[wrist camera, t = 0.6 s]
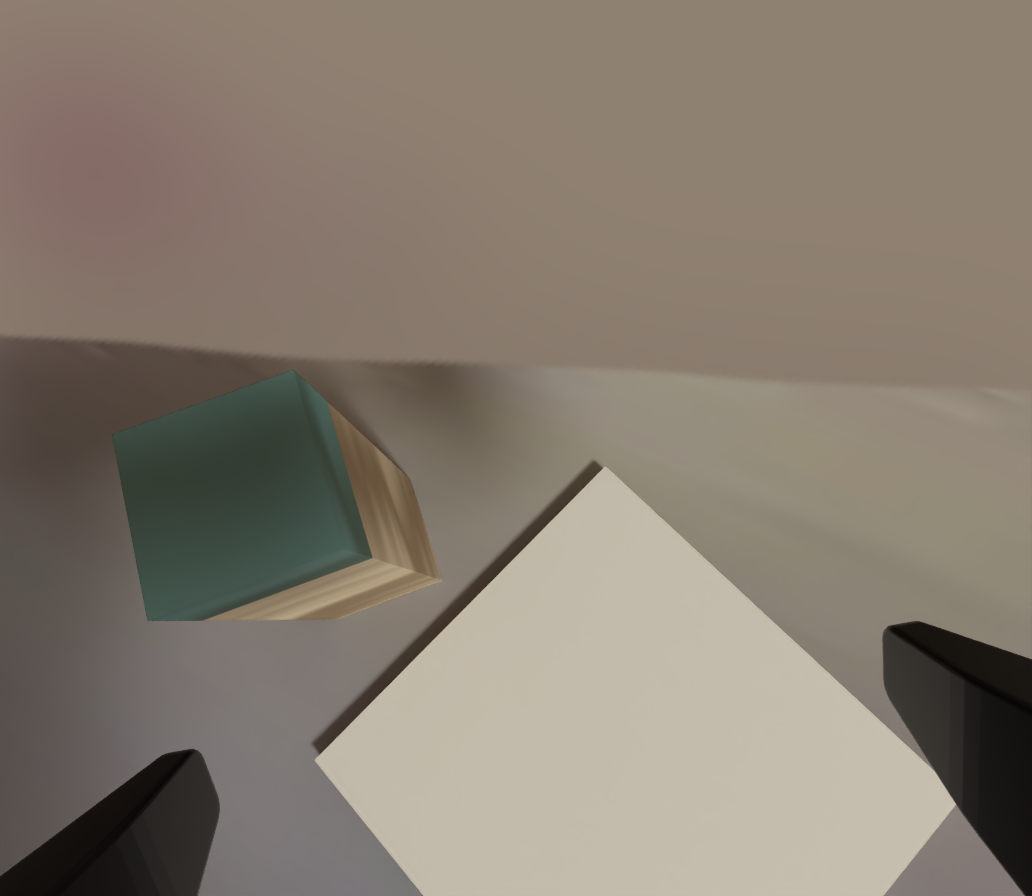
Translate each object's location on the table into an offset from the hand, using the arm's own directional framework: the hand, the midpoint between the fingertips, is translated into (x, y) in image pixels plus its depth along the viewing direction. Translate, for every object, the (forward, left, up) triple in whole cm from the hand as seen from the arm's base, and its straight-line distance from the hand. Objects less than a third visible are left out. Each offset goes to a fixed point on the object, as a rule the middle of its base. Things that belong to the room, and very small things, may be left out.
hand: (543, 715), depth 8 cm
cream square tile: (-1, -4, -14) cm, 15 cm away
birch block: (-2, +7, -14) cm, 16 cm away
